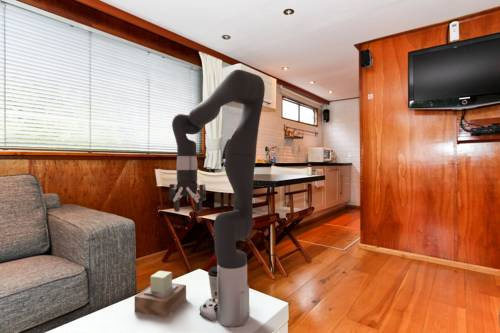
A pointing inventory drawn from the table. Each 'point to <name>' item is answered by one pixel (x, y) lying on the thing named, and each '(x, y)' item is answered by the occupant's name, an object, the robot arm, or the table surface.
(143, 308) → the walnut plinth
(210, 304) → the game controller
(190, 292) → the table surface
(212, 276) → the coffee cup
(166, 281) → the sage cube
